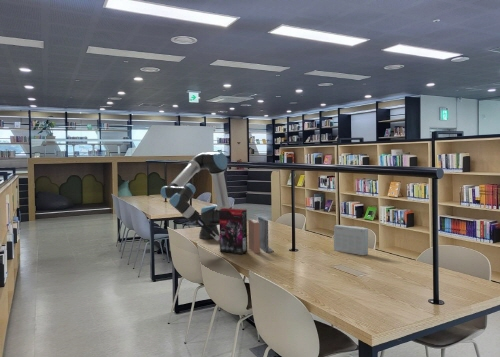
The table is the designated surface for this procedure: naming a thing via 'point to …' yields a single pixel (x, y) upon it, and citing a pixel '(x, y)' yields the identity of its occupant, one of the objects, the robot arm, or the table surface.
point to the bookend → (264, 235)
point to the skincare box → (351, 239)
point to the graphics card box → (233, 230)
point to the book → (254, 236)
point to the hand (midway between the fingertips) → (218, 239)
